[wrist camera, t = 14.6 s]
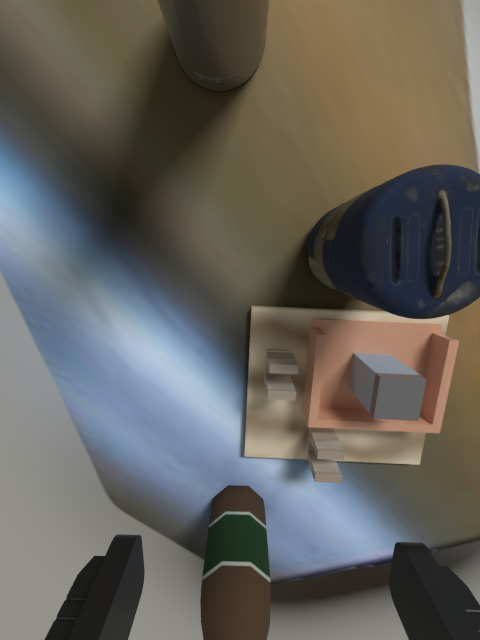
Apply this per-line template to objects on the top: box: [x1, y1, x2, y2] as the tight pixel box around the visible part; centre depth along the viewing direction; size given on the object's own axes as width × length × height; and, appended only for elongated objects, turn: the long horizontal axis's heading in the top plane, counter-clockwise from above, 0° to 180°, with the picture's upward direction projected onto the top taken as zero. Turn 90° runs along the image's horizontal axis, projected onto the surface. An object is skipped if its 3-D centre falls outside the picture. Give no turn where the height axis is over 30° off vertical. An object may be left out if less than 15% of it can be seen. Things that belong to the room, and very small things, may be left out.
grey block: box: [349, 353, 427, 421], centre depth 32 cm, size 4×4×7 cm
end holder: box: [302, 318, 459, 433], centre depth 34 cm, size 12×15×4 cm
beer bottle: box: [201, 486, 271, 640], centre depth 30 cm, size 8×8×24 cm
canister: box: [307, 165, 480, 319], centre depth 25 cm, size 10×10×18 cm
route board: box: [244, 306, 449, 483], centre depth 34 cm, size 20×23×6 cm
